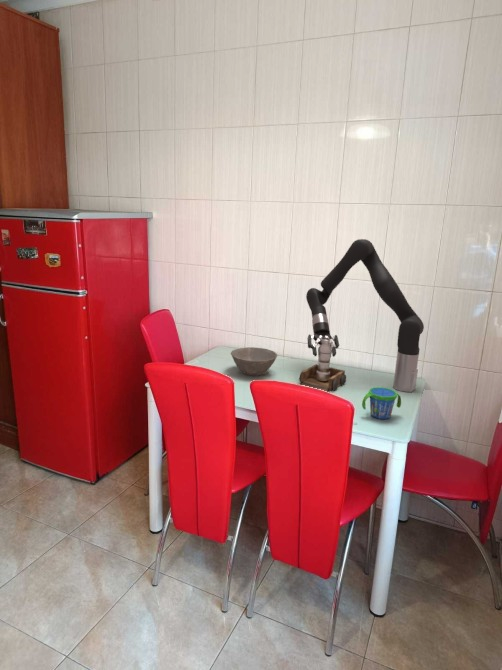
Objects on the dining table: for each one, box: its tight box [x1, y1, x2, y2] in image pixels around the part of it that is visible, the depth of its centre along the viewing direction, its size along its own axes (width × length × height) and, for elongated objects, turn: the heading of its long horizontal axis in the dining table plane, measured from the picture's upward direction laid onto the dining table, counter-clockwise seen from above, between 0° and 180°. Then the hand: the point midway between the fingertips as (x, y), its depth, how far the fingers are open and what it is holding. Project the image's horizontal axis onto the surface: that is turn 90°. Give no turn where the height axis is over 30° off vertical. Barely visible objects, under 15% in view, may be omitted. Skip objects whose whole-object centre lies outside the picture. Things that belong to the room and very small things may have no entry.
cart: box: [298, 363, 347, 393], centre depth 213 cm, size 20×17×6 cm
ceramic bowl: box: [230, 346, 278, 377], centre depth 225 cm, size 22×23×10 cm
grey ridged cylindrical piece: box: [316, 338, 332, 381], centre depth 212 cm, size 6×7×20 cm
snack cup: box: [361, 386, 402, 420], centre depth 181 cm, size 16×10×10 cm
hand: (324, 355), depth 211 cm, fingers open, 8 cm apart
